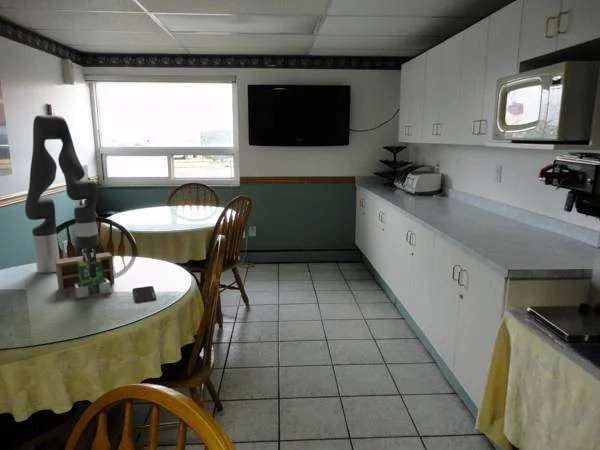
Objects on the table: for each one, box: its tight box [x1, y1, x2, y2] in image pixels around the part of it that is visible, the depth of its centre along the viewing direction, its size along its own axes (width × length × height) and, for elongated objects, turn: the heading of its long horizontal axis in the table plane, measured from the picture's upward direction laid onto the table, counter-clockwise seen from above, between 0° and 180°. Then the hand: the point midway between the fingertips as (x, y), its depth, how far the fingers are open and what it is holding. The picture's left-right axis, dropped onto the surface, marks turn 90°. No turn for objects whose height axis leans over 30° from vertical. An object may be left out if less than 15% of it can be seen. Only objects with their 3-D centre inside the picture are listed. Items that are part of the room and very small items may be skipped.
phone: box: [132, 285, 157, 304], centre depth 168 cm, size 8×1×15 cm
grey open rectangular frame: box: [74, 278, 112, 298], centre depth 168 cm, size 6×12×4 cm, turn 126°
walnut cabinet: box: [55, 251, 115, 301], centre depth 172 cm, size 18×20×12 cm
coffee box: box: [77, 258, 103, 294], centre depth 167 cm, size 8×3×13 cm, turn 127°
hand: (91, 274), depth 167 cm, fingers open, 8 cm apart
